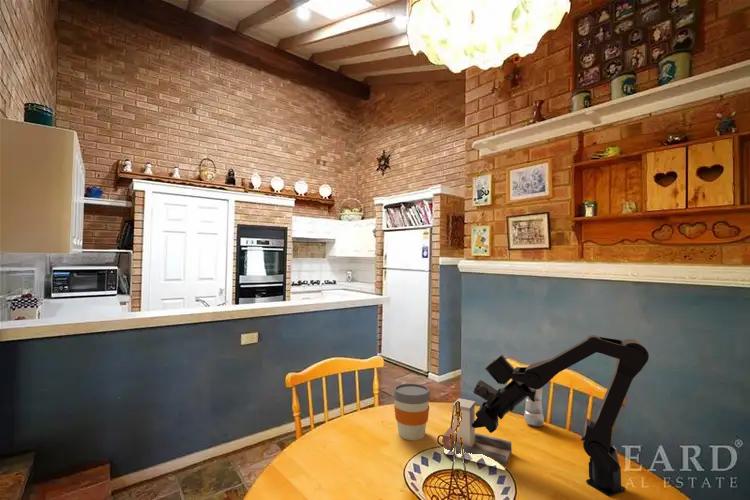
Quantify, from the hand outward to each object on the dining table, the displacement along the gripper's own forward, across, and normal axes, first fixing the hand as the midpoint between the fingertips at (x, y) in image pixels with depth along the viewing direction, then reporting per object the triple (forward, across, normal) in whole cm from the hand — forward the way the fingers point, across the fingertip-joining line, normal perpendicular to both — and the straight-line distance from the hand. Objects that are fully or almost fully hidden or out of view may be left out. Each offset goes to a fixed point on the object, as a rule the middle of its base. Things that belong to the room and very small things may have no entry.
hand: (472, 426), depth 110 cm
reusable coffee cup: (+21, -2, -10) cm, 23 cm away
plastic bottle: (-4, -31, +16) cm, 35 cm away
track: (+5, 0, +6) cm, 8 cm away
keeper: (+6, 0, +2) cm, 7 cm away
